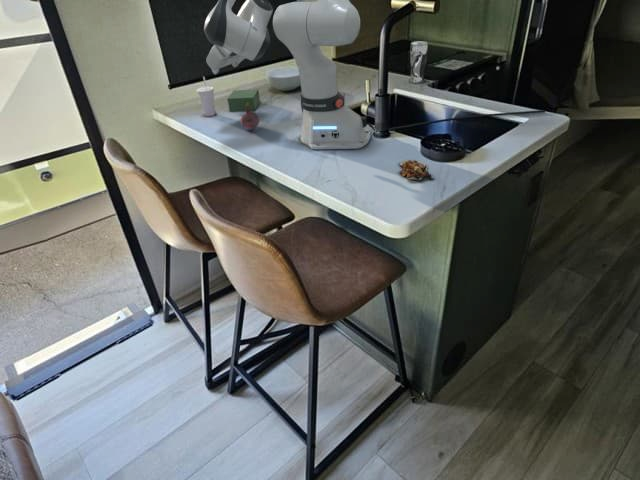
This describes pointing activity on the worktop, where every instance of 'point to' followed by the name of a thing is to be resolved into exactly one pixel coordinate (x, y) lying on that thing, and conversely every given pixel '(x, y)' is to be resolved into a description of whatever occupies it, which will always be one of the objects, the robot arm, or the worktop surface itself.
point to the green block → (243, 100)
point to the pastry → (414, 169)
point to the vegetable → (249, 119)
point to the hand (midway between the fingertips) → (224, 68)
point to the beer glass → (418, 61)
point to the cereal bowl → (284, 78)
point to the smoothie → (207, 99)
